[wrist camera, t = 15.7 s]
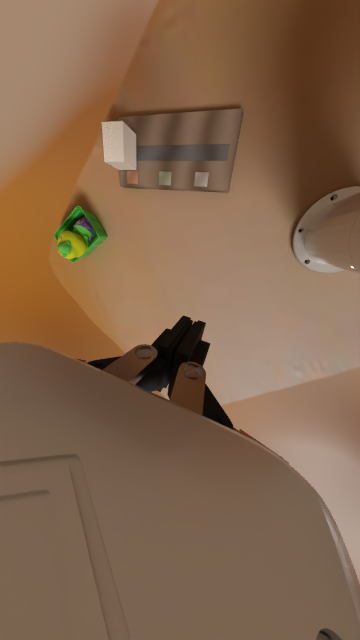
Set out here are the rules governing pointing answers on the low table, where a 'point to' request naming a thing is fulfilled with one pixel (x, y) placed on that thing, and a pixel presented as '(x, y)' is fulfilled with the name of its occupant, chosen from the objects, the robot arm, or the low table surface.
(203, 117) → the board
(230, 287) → the low table surface
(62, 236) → the fruit basket
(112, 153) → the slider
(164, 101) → the low table surface
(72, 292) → the low table surface
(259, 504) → the robot arm
